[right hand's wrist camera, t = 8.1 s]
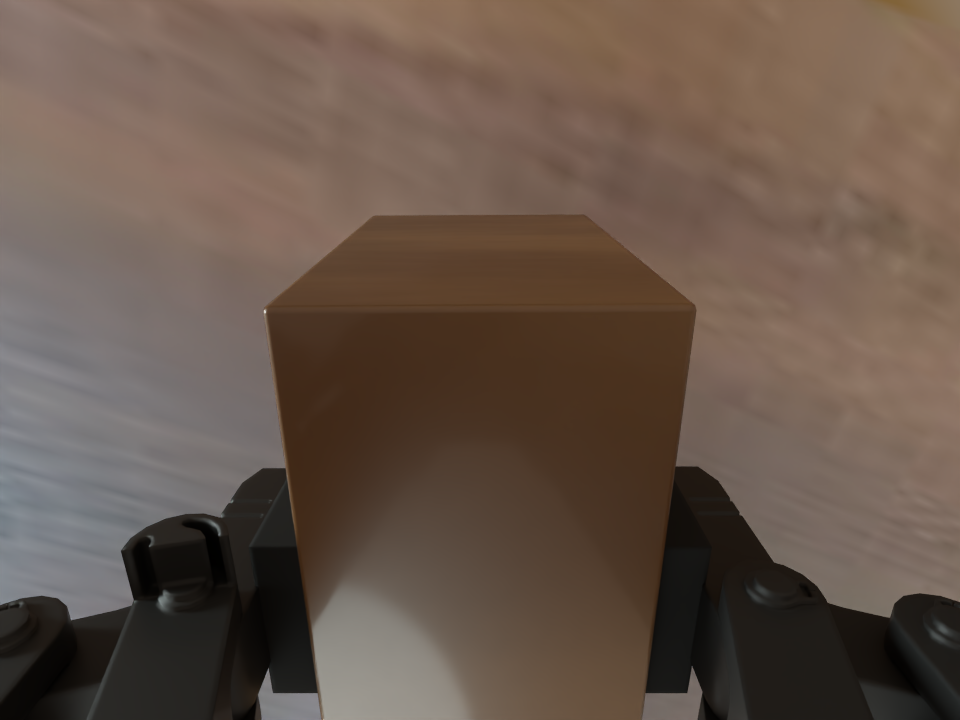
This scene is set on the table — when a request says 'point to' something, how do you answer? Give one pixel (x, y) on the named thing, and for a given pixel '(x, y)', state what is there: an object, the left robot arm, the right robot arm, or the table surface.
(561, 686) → the bar
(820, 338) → the table surface
